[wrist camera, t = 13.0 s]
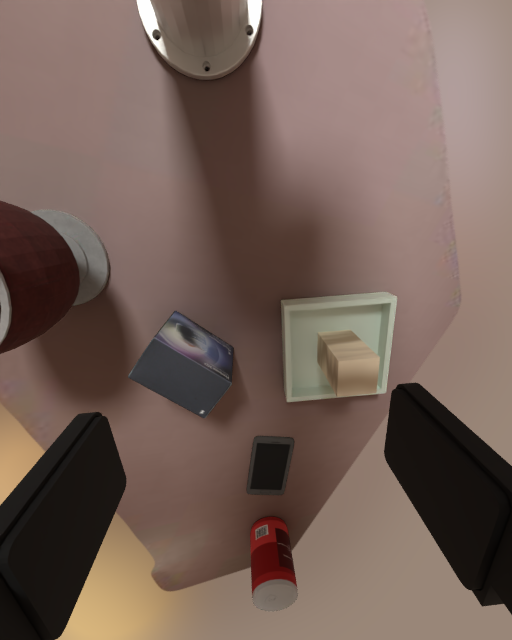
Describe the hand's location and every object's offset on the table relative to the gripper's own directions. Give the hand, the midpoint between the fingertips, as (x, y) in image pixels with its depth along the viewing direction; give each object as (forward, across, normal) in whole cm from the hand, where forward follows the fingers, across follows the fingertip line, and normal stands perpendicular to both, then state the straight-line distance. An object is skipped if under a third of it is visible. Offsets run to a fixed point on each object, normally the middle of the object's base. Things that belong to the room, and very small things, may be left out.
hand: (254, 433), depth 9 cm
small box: (+31, +8, +10) cm, 33 cm away
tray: (+30, -13, +12) cm, 35 cm away
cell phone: (+31, -2, +36) cm, 47 cm away
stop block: (+29, -13, +12) cm, 34 cm away
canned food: (+30, -1, +53) cm, 61 cm away
